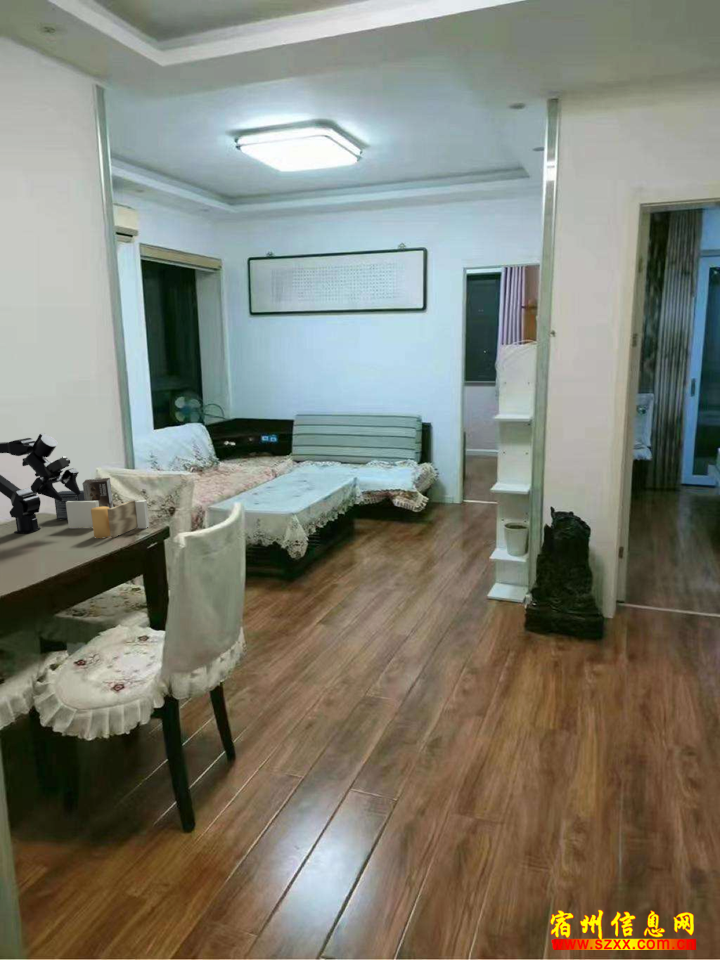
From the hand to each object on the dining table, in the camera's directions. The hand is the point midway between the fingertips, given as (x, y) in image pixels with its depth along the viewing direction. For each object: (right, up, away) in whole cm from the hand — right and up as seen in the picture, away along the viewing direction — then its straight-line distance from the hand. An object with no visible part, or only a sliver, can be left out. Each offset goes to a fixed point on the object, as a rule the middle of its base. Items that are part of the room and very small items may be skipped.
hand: (71, 497), depth 237 cm
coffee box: (+3, -10, +20) cm, 23 cm away
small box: (-11, -9, +27) cm, 31 cm away
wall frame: (+10, -12, +10) cm, 18 cm away
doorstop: (+12, -14, -1) cm, 18 cm away
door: (+18, -12, +2) cm, 22 cm away
